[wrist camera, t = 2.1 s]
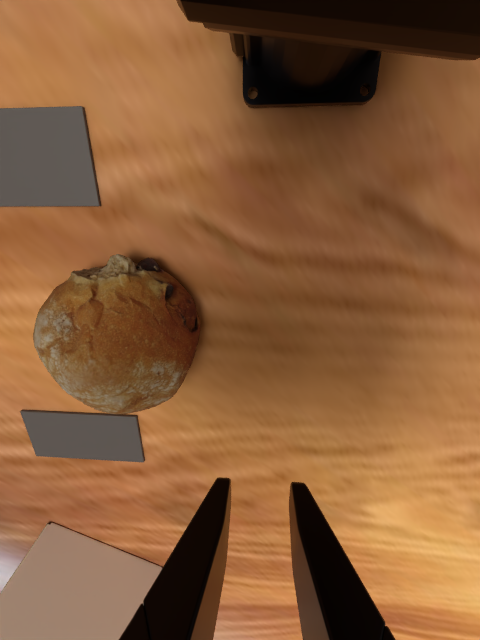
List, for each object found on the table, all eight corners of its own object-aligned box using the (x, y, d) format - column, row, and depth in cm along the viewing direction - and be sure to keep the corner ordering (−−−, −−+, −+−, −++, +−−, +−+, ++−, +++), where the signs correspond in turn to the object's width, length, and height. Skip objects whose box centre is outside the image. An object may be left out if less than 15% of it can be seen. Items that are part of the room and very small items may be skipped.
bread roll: (85, 302, 24) (-1, 377, 18) (105, 207, 17) (-26, 283, 11) (183, 365, 26) (132, 451, 20) (240, 304, 18) (184, 412, 13)
